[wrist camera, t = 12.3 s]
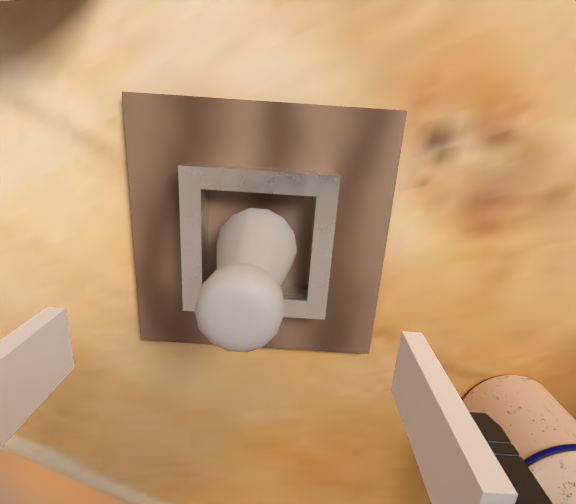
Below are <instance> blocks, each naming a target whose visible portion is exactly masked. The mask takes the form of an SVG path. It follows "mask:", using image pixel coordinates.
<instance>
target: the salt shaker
mask: <svg viewBox="0 0 576 504" xmlns="http://www.w3.org/2000/svg"><path fill="white" fill-rule="evenodd" d="M296 252H297V247H296V240H295V234H294V232H293V230H292V229H291V228H290V226H289V225H288V223H287V222H286V220H285V219H284V218H283V217H281V216H279V215H278V214H276V213H274V212H272V211H270V210H269V209H258V208H249V209H246V210H244V211H241V212H239V213H237V214H234V215H232V216H231V217H230V218H229V220H228V221H227V222H226V223H225V224H224V225H223V226H222V227H221V228H220V232H219V237H218V241H217V270H215V271H214V272H213V274H212V275H211V276H210V277H209V278H208V279H207V280H206V281H205V282H204V283H203V284H202V286H201V287H200V289H199V293H198V298H197V302H196V307H195V315H196V319H197V323H198V327H199V330H200V331H201V332H202V333H203V334H204V335H205V336H206V338H207V339H208V340H209V341H210V342H211V343H213V344H215V345H217V346H219V347H221V348H223V349H225V350H227V351H235V352H249V351H252V350H255V349H258V348H261V347H264V346H265V345H266V344H267V343H268V342H269V341H270V340H271V339H272V338H273V337H274V336H275V335H276V334H277V332H278V330H279V327H280V325H281V322H282V319H283V316H284V313H285V304H284V299H283V293H282V288H281V287H280V286H281V285H282V283H283V281H284V279H285V278H286V276H287V274H288V272H289V271H290V269H291V267H292V264H293V261H294V258H295V255H296Z"/></svg>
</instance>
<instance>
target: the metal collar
mask: <svg viewBox="0 0 576 504" xmlns="http://www.w3.org/2000/svg"><path fill="white" fill-rule="evenodd" d="M340 177H341V176H340V175H339V174H338V173H337V172H334V171H319V170H303V169H288V168H273V167H258V166H242V165H227V164H212V163H197V162H186V163H184V164H181V165H178V179H179V209H180V238H181V268H182V298H183V311H194V312H195V307H196V302H197V298H198V293H199V289H200V287H201V286H202V284H203V283H204V282H205V281H206V280H207V279H208V278H209V190H222V191H238V192H253V193H269V194H284V195H299V196H314V202H313V214H312V225H311V237H310V248H309V260H308V271H307V283H306V287H294V286H280V287H281V288H282V293H283V299H284V304H285V313H284V316H283V317H291V318H307V319H324V320H325V315H326V306H327V297H328V288H329V278H330V269H331V260H332V251H333V241H334V232H335V223H336V214H337V204H338V195H339V186H340Z"/></svg>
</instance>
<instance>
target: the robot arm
mask: <svg viewBox="0 0 576 504" xmlns="http://www.w3.org/2000/svg"><path fill="white" fill-rule="evenodd" d="M74 368H75V365H74V358H73V352H72V345H71V339H70V332H69V325H68V319H67V312H66V308H57V307H45V308H44V309H43V310H41V311H40V312H38V313H37V314H36V315H34V316H33V317H32V318H30V319H29V320H27V321H26V322H25V323H23V324H22V325H21V326H19V327H18V328H16V329H15V330H14V331H12V332H11V333H9V334H8V335H7V336H5V337H4V338H3V339H1V340H0V449H1V447H2V446H3V445H4V444H5V443H6V442H7V441H8V440H9V439H10V438H11V437H12V435H13V434H14V433H15V432H16V431H17V430H18V429H19V428H20V427H21V426H22V425H23V423H24V422H25V421H26V420H27V419H28V418H29V417H30V416H31V415H32V414H33V413H34V411H35V410H36V409H37V408H38V407H39V406H40V405H41V404H42V403H43V402H44V401H45V399H46V398H47V397H48V396H49V395H50V394H51V393H52V392H53V391H54V390H55V389H56V388H57V386H58V385H59V384H60V383H61V382H62V381H63V380H64V379H65V378H66V377H67V376H68V374H69V373H70V372H71V371H72V370H73V369H74ZM391 390H392V393H393V396H394V399H395V402H396V405H397V408H398V410H399V413H400V416H401V419H402V422H403V425H404V427H405V430H406V433H407V436H408V439H409V442H410V445H411V447H412V450H413V453H414V456H415V459H416V462H417V464H418V467H419V470H420V473H421V476H422V479H423V482H424V484H425V487H426V490H427V493H428V496H429V499H430V501H431V504H553V503H552V502H551V500H550V499H549V497H548V496H547V494H546V493H545V491H544V490H543V488H542V487H541V485H540V484H539V482H538V481H537V479H536V478H535V476H534V475H533V473H532V472H531V471H530V469H529V468H528V466H527V465H526V463H525V462H524V460H523V459H522V457H520V454H519V453H518V451H517V450H516V448H515V447H514V445H512V444H511V441H510V439H509V438H508V436H507V435H506V433H505V432H504V430H503V429H502V427H501V426H500V425H499V424H497V423H496V422H495V421H494V420H493V419H492V418H491V417H489V416H488V415H487V414H486V413H477V412H469V411H468V409H467V408H466V406H465V404H464V403H463V401H462V399H461V398H460V396H459V394H458V393H457V391H456V389H455V388H454V386H453V384H452V383H451V381H450V379H449V377H448V376H447V374H446V372H445V371H444V369H443V367H442V366H441V364H440V362H439V361H438V359H437V357H436V356H435V354H434V352H433V351H432V349H431V347H430V346H429V344H428V342H427V341H426V339H425V337H424V335H423V334H422V332H407V331H402V334H401V339H400V345H399V350H398V355H397V361H396V366H395V371H394V376H393V382H392V387H391Z"/></svg>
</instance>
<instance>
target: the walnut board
mask: <svg viewBox="0 0 576 504" xmlns="http://www.w3.org/2000/svg"><path fill="white" fill-rule="evenodd" d="M122 100H123V113H124V126H125V139H126V152H127V165H128V178H129V191H130V204H131V217H132V229H133V242H134V255H135V268H136V281H137V294H138V307H139V320H140V333H141V340H151V341H168V342H184V343H200V344H213V343H211V342H210V341H209V340H208V339H207V338H206V336H205V335H204V334H203V333H202V332H201V331H200V330H199V327H198V323H197V319H196V315H195V312H194V311H183V298H182V268H181V238H180V209H179V179H178V165H181V164H184V163H186V162H197V163H212V164H227V165H242V166H258V167H273V168H288V169H303V170H319V171H334V172H337V173H338V174H339V175H340V176H341V177H340V186H339V195H338V204H337V214H336V223H335V232H334V241H333V251H332V260H331V269H330V278H329V288H328V297H327V306H326V315H325V320H324V319H307V318H291V317H283V319H282V322H281V325H280V327H279V330H278V332H277V334H276V335H275V336H274V337H273V338H272V339H271V340H270V341H269V342H268V343H267V344H266V345H265V346H264V347H266V348H282V349H299V350H315V351H332V352H348V353H364V354H369V349H370V343H371V337H372V330H373V324H374V318H375V311H376V305H377V298H378V292H379V286H380V279H381V273H382V267H383V260H384V254H385V248H386V241H387V235H388V228H389V222H390V216H391V209H392V203H393V197H394V190H395V184H396V178H397V171H398V165H399V159H400V152H401V146H402V139H403V133H404V127H405V120H406V114H407V111H401V110H386V109H371V108H357V107H342V106H327V105H312V104H297V103H282V102H267V101H252V100H237V99H223V98H208V97H193V96H178V95H163V94H148V93H133V92H122ZM313 202H314V196H299V195H284V194H269V193H253V192H238V191H222V190H209V277H210V276H211V275H212V274H213V272H214V271H215V270H217V241H218V237H219V232H220V228H221V227H222V226H223V225H224V224H225V223H226V222H227V221H228V220H229V218H230V217H231V216H232V215H234V214H237V213H239V212H241V211H244V210H246V209H249V208H258V209H269V210H270V211H272V212H274V213H276V214H278V215H279V216H281V217H283V218H284V219H285V220H286V222H287V223H288V225H289V226H290V228H291V229H292V230H293V232H294V234H295V240H296V247H297V252H296V255H295V258H294V261H293V264H292V267H291V269H290V271H289V272H288V274H287V276H286V278H285V279H284V281H283V283H282V285H281V286H294V287H306V283H307V271H308V260H309V248H310V237H311V225H312V214H313Z"/></svg>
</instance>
